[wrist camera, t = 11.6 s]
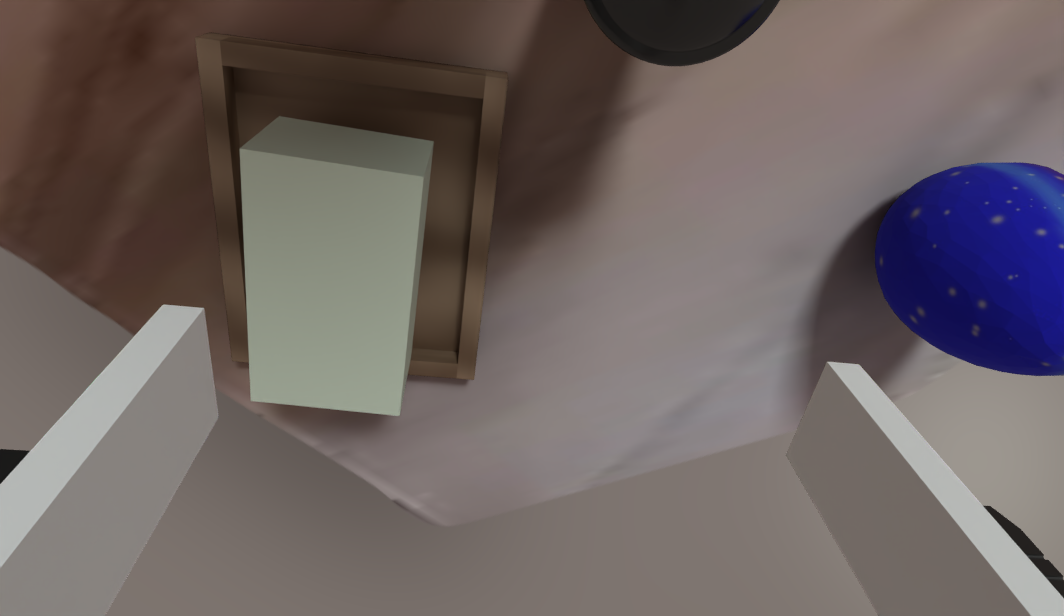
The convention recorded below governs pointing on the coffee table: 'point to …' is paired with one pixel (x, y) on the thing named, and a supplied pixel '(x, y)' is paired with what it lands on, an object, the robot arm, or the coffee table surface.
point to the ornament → (980, 265)
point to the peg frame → (381, 106)
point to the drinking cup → (679, 27)
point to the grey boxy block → (332, 263)
